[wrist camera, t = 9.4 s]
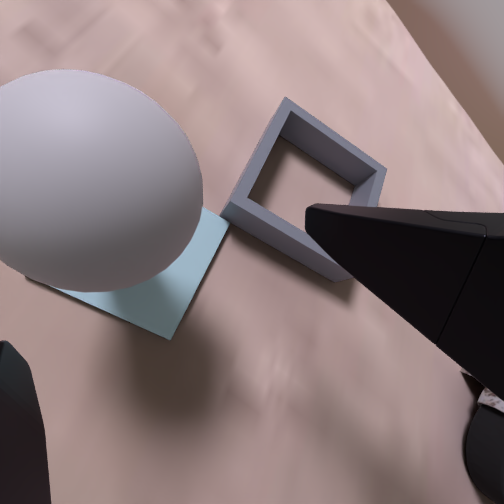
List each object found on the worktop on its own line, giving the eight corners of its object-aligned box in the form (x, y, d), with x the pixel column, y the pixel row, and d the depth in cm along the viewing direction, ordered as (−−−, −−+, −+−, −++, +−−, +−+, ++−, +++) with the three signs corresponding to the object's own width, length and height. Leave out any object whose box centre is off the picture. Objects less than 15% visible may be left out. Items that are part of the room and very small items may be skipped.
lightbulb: (54, 202, 15) (-119, -36, 5) (171, 200, 18) (206, 31, 8) (57, 317, 14) (-156, 293, 4) (183, 299, 16) (242, 256, 6)
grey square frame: (334, 282, 21) (357, 276, 19) (219, 216, 19) (230, 200, 17) (364, 183, 25) (387, 168, 22) (270, 119, 23) (285, 96, 20)
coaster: (169, 340, 16) (170, 340, 16) (23, 274, 14) (20, 272, 14) (228, 224, 19) (230, 222, 19) (113, 159, 17) (113, 155, 17)
